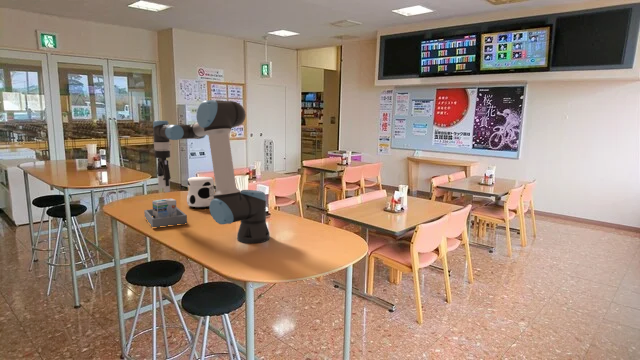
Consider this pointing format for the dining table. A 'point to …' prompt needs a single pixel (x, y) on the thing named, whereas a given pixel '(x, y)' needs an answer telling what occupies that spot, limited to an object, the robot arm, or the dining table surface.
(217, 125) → the robot arm
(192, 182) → the milk container
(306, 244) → the dining table surface
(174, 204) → the light bulb box
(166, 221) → the grey bin
